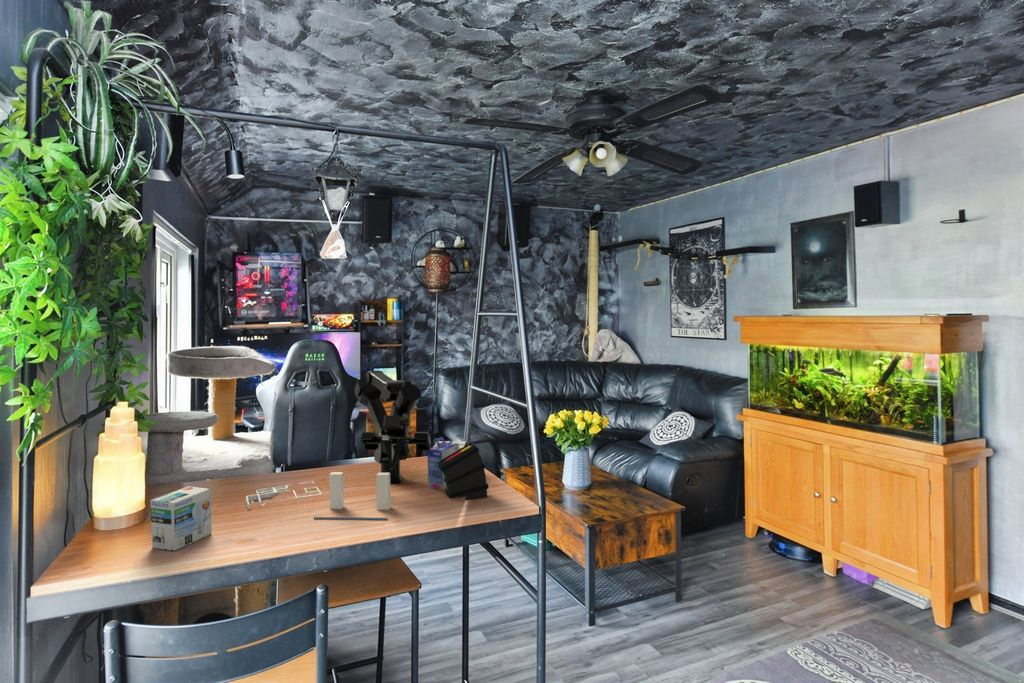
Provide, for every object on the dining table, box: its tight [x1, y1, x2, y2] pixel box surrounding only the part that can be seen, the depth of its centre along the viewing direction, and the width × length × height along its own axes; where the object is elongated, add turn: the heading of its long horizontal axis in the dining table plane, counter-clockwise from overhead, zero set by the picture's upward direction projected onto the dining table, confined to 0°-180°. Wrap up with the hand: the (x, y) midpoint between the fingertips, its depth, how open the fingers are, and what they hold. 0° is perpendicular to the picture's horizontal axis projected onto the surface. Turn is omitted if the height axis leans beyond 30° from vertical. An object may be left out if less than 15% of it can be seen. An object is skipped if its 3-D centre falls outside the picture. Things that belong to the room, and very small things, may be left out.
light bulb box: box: [150, 485, 213, 552], centre depth 129 cm, size 11×7×11 cm, turn 164°
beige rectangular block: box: [375, 472, 392, 511], centre depth 147 cm, size 2×3×9 cm, turn 88°
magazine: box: [438, 442, 490, 501], centre depth 158 cm, size 4×13×15 cm, turn 112°
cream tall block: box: [328, 471, 345, 510], centre depth 147 cm, size 2×3×9 cm, turn 88°
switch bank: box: [313, 516, 388, 521], centre depth 145 cm, size 12×18×2 cm, turn 88°
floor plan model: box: [245, 480, 323, 510], centre depth 156 cm, size 19×25×2 cm
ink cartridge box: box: [426, 436, 459, 490], centre depth 167 cm, size 10×6×14 cm, turn 155°
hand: (391, 468), depth 153 cm, fingers closed
